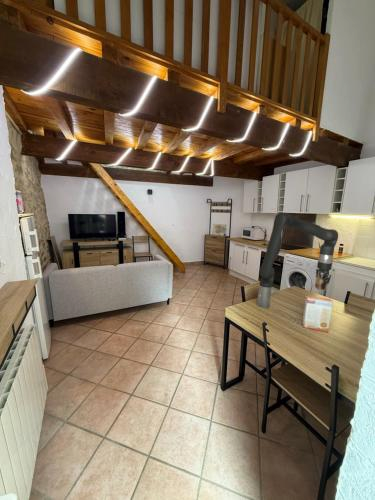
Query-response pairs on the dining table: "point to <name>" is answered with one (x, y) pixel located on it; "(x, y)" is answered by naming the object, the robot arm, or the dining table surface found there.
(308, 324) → the cracker box
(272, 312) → the dining table surface
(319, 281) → the walnut block
